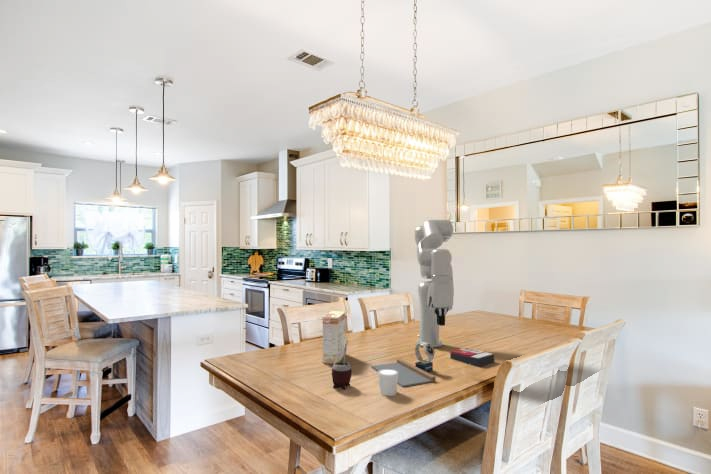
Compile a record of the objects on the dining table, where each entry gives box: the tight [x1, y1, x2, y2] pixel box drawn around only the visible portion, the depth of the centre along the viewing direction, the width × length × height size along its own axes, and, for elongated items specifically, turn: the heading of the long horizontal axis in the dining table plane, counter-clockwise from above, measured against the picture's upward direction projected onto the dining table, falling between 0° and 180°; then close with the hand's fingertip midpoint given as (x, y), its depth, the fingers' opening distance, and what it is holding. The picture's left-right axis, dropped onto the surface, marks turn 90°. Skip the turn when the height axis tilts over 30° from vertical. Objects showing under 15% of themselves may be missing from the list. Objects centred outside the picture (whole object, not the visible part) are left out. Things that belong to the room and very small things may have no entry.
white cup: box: [377, 369, 398, 397], centre depth 132 cm, size 7×7×7 cm
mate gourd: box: [331, 339, 353, 391], centre depth 138 cm, size 8×8×15 cm
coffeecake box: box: [322, 310, 346, 365], centre depth 171 cm, size 15×7×20 cm, turn 168°
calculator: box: [450, 347, 495, 368], centre depth 169 cm, size 11×4×15 cm
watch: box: [414, 342, 436, 373], centre depth 155 cm, size 6×8×11 cm
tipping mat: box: [370, 358, 437, 388], centre depth 150 cm, size 24×14×2 cm, turn 25°
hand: (440, 324), depth 158 cm, fingers closed
